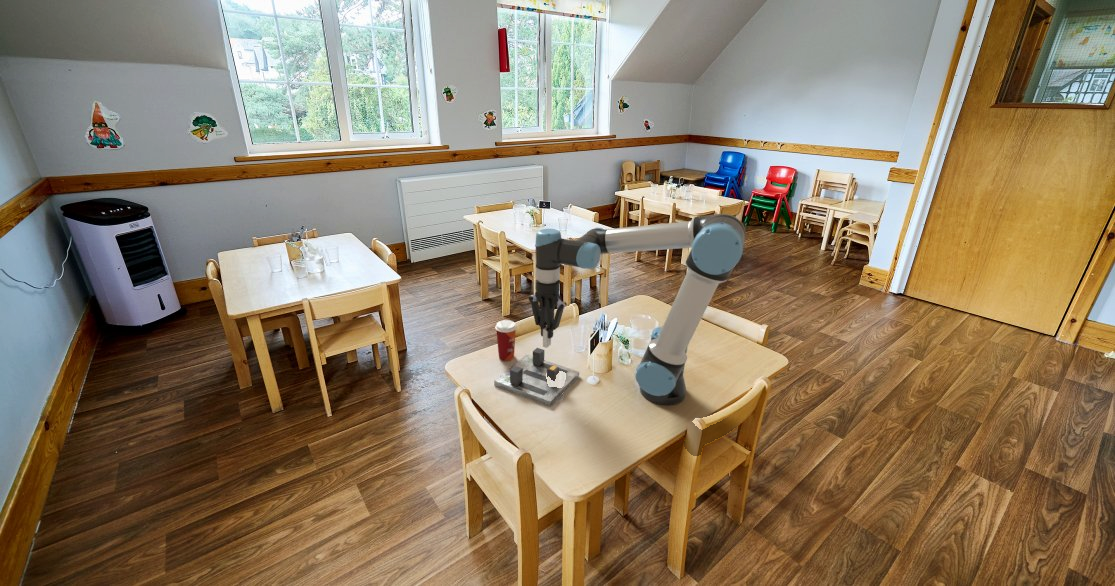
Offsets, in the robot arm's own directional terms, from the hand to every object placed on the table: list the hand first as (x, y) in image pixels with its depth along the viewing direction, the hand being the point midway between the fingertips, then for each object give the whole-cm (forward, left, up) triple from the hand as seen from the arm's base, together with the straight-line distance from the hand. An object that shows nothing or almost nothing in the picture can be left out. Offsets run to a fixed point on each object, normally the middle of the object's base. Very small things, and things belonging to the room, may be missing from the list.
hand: (546, 345), depth 155 cm
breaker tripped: (-3, 0, -13) cm, 13 cm away
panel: (+3, 0, -15) cm, 16 cm away
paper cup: (+21, -7, -15) cm, 27 cm away
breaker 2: (+7, -7, -13) cm, 16 cm away
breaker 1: (+7, +7, -13) cm, 16 cm away
